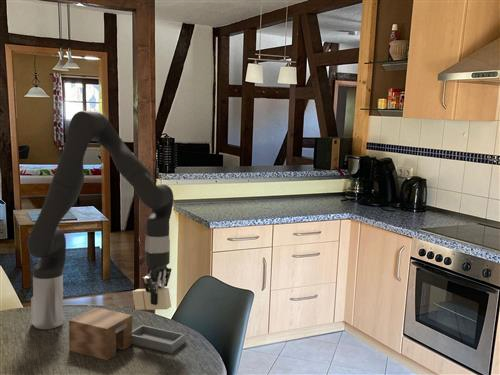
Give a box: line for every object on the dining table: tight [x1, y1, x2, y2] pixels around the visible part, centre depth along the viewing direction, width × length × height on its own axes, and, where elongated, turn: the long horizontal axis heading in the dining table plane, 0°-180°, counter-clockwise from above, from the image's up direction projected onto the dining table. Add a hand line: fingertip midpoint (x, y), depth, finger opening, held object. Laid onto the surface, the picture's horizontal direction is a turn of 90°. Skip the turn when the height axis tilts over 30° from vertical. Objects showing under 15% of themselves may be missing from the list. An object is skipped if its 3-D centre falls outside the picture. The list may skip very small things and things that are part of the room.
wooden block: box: [68, 306, 133, 361], centre depth 149 cm, size 15×12×10 cm
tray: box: [131, 324, 186, 354], centre depth 155 cm, size 16×8×3 cm, turn 68°
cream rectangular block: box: [131, 287, 172, 311], centre depth 154 cm, size 12×3×6 cm, turn 68°
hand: (156, 302), depth 153 cm, fingers closed on cream rectangular block, 2 cm apart
